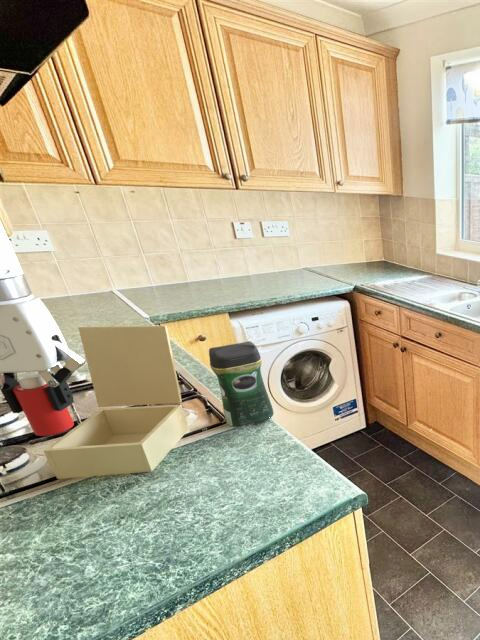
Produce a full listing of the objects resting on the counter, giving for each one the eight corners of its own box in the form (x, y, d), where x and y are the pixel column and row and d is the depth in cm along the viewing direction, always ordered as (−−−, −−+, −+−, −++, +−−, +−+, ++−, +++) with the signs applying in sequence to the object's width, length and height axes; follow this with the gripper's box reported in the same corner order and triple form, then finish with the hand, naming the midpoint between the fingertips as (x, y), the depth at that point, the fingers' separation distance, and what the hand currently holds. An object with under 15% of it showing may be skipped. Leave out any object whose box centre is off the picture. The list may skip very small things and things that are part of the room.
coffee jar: (267, 406, 104) (252, 336, 96) (278, 419, 99) (262, 345, 91) (222, 418, 98) (201, 344, 90) (231, 432, 93) (210, 355, 85)
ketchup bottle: (26, 437, 64) (-2, 382, 60) (48, 422, 68) (23, 370, 64) (61, 434, 65) (36, 381, 61) (80, 420, 69) (58, 369, 65)
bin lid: (164, 326, 85) (167, 325, 85) (77, 327, 81) (80, 326, 82) (180, 403, 89) (182, 402, 90) (98, 407, 86) (101, 405, 86)
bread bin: (153, 474, 79) (141, 444, 76) (58, 482, 75) (43, 450, 72) (190, 431, 92) (181, 404, 90) (111, 436, 89) (100, 408, 86)
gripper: (-123, 296, 52) (-48, 424, 59) (44, 296, 56) (94, 416, 63) (-64, 284, 58) (-3, 400, 66) (82, 284, 62) (123, 394, 70)
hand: (44, 406), depth 65 cm, fingers closed on ketchup bottle, 4 cm apart
